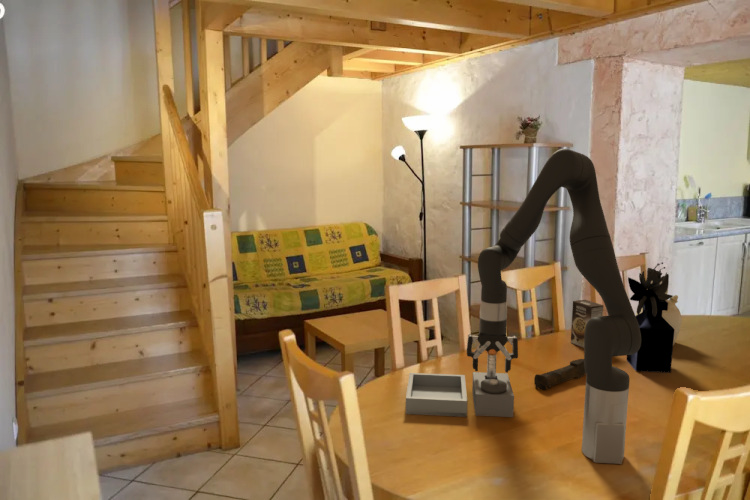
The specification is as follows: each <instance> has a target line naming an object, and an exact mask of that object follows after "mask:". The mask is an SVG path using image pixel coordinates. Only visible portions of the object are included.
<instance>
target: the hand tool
mask: <svg viewBox="0 0 750 500" xmlns="http://www.w3.org/2000/svg"><path fill="white" fill-rule="evenodd" d="M584 376H586V372H585V367H584V358H579V359H574V360H571V361H570V362H569V364H568V365H566V366H563V367H560V368H556V369H554V370H550V371H549V372H545V373H542V374H539V373H538V374H537V373H536V374H535V375H534V377H533V378H534V379H533V380H534V382H533V383H534V386H535V388H537V389H539V390H541V391H546V390H547V389H548V390H549V389H550V388H551V387H552V386H555V385H559V384H561V383H562V384H563V383H564V382H566V381H567V382H568V381H570V380H572V379H573V380H580V379H581V378H583V377H584Z"/></svg>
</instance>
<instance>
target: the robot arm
mask: <svg viewBox="0 0 750 500" xmlns="http://www.w3.org/2000/svg"><path fill="white" fill-rule="evenodd" d="M561 188H564V189H566V190H567V192H568V196H569V198H570V203H571V205H572V211H573V213H572V214H573V216H572V221H571V225H570V230H569V245H570V249H571V253H572V257H573V261H574V265H575V267H576V269H577V270H578V272H579V273H580V275H582V276H583V278H584V279H585V280H586V282H588V283H589V284H590V285H591V287H593V288H594V289H595V291H596V292H597V293H598V296H600V297H601V299H602V301H603V304H604V306H605V308H606V312H607V315H603V316H598V317H593V318H591V319H590V320H589V321H588V322H587V324H586V327H585V333H584V348H583V353H584V354H583V356H584V357H583V359H584V367H585V372H586V374H585V389H584V390H585V391H584V392H585V393H584V404H583V421H582V437H581V438H582V440H581V453H582V454H583V455H584V456H585V457H587V458H589V459H590V460H592V462H593V463H598V464H599V463H601V464H618V465H622V464H623V460H624V458H625V446H626V432H627V431H626V430H627V418H628V406H629V405H628V403H629V389H630V375H629V374H628V373H627V371H625V370H623V369H621V368H618V367H616V366H613V357H621V356H622V357H623V356H627V355H632V354H635V353H637V352H638V350H639V349H640V346H641V333H640V328H639V325H638V322H637V319H636V313H635V311H634V309H633V306H632V303H631V300H630V298H629V296H628V293H627V291H626V289H625V285H624V281H623V278H622V276H621V273H620V269H619V265H618V262H617V257H616V254H615V253H616V252H615V249H614V245H613V241H612V238H611V235H610V232H609V228H608V226H607V221H606V217H605V214H604V213H605V212H604V209H603V206H602V204H601V198H600V192H599V185H598V180H597V173H596V167H595V165H594V163H593V161H592V159H591V158H590V157H589V156H587V155H585V154H584V153H580V152H578V151H576V150H575V151H574V150H572V149H568V148H561V149H558V150H556V151H555V152H553V153H552V154H551V155H550V156H549V158H548V159H547V160H546V162H545V164H544V166H543V167H542V169H541V170H540V173H539V174H538V176H537V178H536V179H535V181H534V183H533V184H532V186H531V188H530V190H529V192H528V193H527V195H526V197H525V199H524V200H523V202H522V203H521V205H520V206H519V208H518V209H517V210H516V212H514V214H513V216H512V217H511V218H510V220H508V222H507V223H506V225H505V226H504V227H503V228H502V230H501V231H500V233H499V239H498V241H497V242H496V243H495V245H493V246H490V247H486V248H484V249H482V251H481V252H480V253H479V254H478V258H477V271H478V274H479V275H478V276H479V280H480V284H481V285H480V286H481V290H480V291H481V292H480V306H479V313H478V314H479V324H478V325H479V328H478V329H479V330H478V331H479V332H478V335H473V334H472V333H469V334H468V335H467V344H466V355H467V356H466V357H468V358H469V357H470V358H471V359H472V368H473V370H474V372H478V369H479V368H478V367H479V357H480V356H481V355H482V354H483V353H484V352H485V351H486V353H487V352H488V351H489V350H491V349H494V350H495V351H496V352H497V353H498V352H501V353H502V355H503V356H504V357H505V359H504V372H505V373H507V374H508V373H509V371H511V370H512V369H511V367H512V366H511V365H512V360H513V359H518V358H519V344H518V343H519V342H518V338H517V335H512V336H507V328H508V327H507V325H508V324H507V323H508V319H507V318H508V317H507V316H508V305H507V299H508V298H507V296H508V287H507V282H506V281H505V280H503V279H502V278H503V277H502V271H503V270H505V269H508V267H509V266H510V265H512V263H513V262H514V261H515V259H516V258H517V256H518V254H519V253H520V251H521V249H522V247H523V246H524V245H525V244H526V243H527V241H529V239H530V238H531V237H532V236H533V235H534V234H535V232H536V231H537V229H538V228H539V226H540V223H541V221H542V218H543V214H544V210H545V209H546V205H547V204H548V202H549V200H551V198H552V196H553V195H554V194H556V192H557V191H558V190H559V189H561ZM476 341H478V343H479V345H478V346H477V347H476V349H475V350H474V351H473V350H472V349H473V344H475V343H476ZM508 342H509V343H510V345H511V346H512V352H509V351H508V350H507V348H506V347H505V345H506V344H507V343H508Z"/></svg>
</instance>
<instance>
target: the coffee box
mask: <svg viewBox="0 0 750 500" xmlns="http://www.w3.org/2000/svg"><path fill="white" fill-rule="evenodd" d="M604 306H605V304H604V305H603V304H601V303H597V302H594V301H591V300H587V299H579V300H578V299H576V300H572V314H571V315H572V316H571V329H570V330H571V333H570V343H571V344H573V345H576V346H578V347H581V348H583V349H584V333H585V327H586V324H587V322H588V321H589V320H590V319H591V318H593V317H598V316H604Z"/></svg>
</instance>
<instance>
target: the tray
mask: <svg viewBox="0 0 750 500" xmlns="http://www.w3.org/2000/svg"><path fill="white" fill-rule="evenodd" d="M407 381H408V383H407V388H406V394H405V414H406V415H422V416H423V415H426V416H446V417H459V418H462V417H464V418H466V417H467V416H468V396H467V394H468V393H467V386H466V385H467V383H466V375H465V374H450V373H448V374H447V373H446V374H445V373H421V372H409V375H408V380H407Z"/></svg>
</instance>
